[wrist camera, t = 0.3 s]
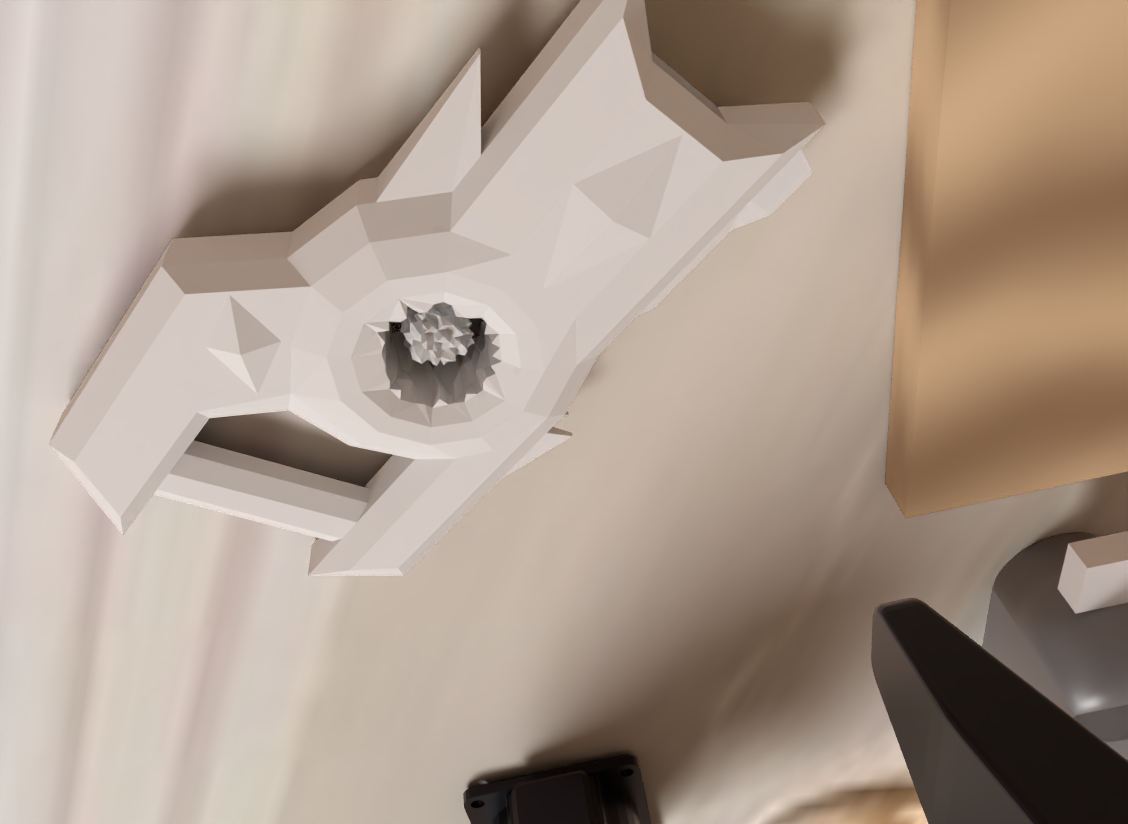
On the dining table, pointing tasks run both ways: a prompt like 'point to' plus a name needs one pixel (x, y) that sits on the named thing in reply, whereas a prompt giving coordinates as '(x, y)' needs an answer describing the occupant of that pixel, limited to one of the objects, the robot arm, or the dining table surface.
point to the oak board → (1012, 253)
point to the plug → (1068, 627)
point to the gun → (432, 299)
